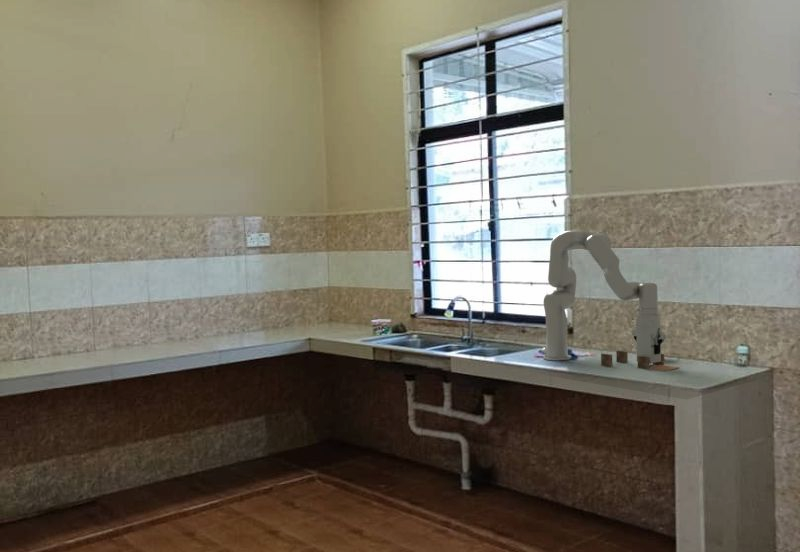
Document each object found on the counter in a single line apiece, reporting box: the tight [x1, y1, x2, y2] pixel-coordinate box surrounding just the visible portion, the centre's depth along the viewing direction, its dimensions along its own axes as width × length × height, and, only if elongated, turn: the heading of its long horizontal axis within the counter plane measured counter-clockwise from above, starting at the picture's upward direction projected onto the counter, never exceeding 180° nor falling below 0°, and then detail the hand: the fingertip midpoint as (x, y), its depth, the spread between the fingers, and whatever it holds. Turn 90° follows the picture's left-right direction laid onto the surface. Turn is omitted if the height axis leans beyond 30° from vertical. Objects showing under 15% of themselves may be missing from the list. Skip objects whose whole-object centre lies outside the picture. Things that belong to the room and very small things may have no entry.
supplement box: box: [636, 333, 662, 365], centre depth 324 cm, size 7×7×13 cm
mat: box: [649, 364, 680, 372], centre depth 319 cm, size 9×9×1 cm
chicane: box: [600, 350, 665, 370], centre depth 328 cm, size 20×17×5 cm
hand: (648, 352), depth 325 cm, fingers closed on supplement box, 7 cm apart
